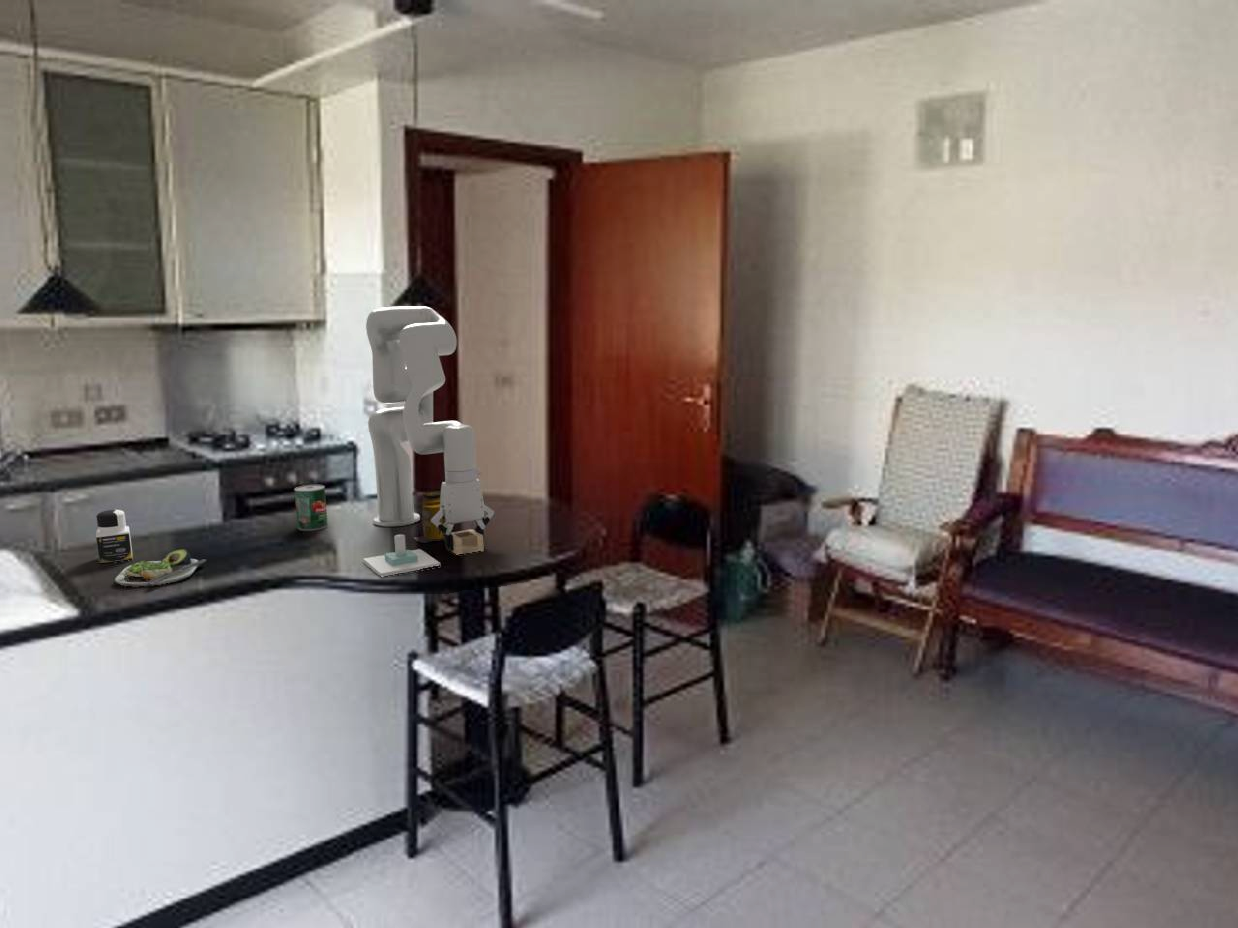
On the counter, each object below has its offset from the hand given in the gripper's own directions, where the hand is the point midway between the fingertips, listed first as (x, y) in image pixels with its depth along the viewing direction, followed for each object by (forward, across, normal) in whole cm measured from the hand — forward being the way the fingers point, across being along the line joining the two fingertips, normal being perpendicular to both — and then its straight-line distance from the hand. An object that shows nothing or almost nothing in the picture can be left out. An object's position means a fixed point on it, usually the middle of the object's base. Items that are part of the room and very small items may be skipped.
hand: (464, 546), depth 231 cm
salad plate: (+2, +66, -22) cm, 70 cm away
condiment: (+1, +3, -15) cm, 15 cm away
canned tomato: (+1, +26, -46) cm, 53 cm away
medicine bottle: (+1, +74, -43) cm, 86 cm away
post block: (+1, +17, +3) cm, 17 cm away
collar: (+1, 0, 0) cm, 1 cm away
